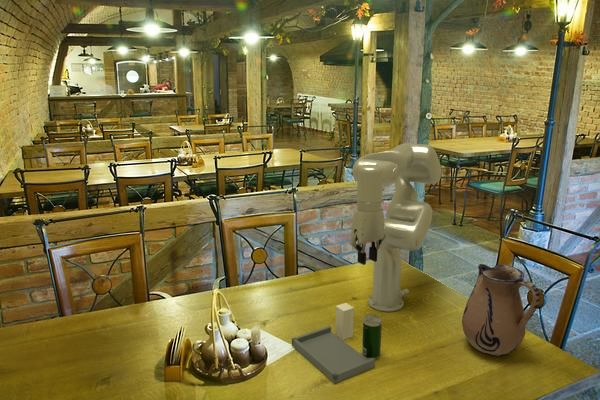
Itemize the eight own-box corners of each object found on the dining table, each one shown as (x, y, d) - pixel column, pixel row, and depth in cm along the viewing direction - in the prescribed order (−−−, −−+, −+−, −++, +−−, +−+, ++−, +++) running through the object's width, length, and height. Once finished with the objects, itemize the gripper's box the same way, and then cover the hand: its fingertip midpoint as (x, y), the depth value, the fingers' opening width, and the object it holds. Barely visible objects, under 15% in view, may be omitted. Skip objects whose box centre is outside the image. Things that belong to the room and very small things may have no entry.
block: (345, 330, 157) (346, 302, 154) (353, 336, 153) (354, 307, 151) (335, 334, 155) (335, 305, 152) (343, 340, 151) (343, 311, 149)
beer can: (370, 362, 140) (371, 325, 137) (358, 353, 144) (359, 317, 141) (384, 356, 143) (385, 319, 139) (371, 348, 147) (373, 312, 144)
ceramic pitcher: (476, 326, 159) (483, 254, 153) (543, 351, 145) (555, 274, 138) (449, 347, 147) (456, 270, 141) (519, 377, 133) (530, 293, 126)
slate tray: (329, 332, 156) (329, 325, 155) (374, 366, 138) (374, 359, 137) (291, 345, 148) (291, 338, 148) (334, 383, 130) (334, 375, 130)
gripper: (381, 198, 155) (379, 252, 160) (339, 206, 146) (338, 263, 151) (398, 204, 149) (395, 260, 153) (355, 213, 140) (353, 271, 145)
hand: (367, 261), depth 152 cm, fingers open, 3 cm apart
